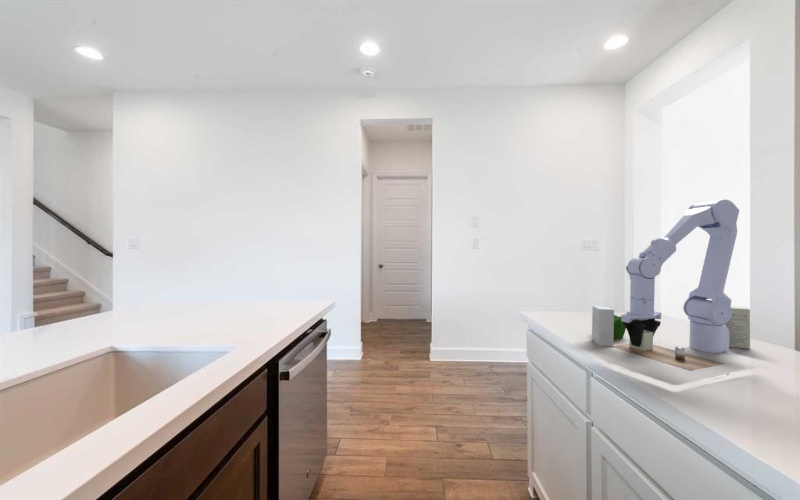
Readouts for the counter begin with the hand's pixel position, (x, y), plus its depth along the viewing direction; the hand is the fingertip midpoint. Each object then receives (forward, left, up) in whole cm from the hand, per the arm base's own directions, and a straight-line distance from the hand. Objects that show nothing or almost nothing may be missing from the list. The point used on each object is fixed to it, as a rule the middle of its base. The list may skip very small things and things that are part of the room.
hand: (641, 345), depth 98 cm
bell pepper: (-3, -12, -2) cm, 13 cm away
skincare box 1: (+6, -8, -2) cm, 10 cm away
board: (0, +6, -2) cm, 6 cm away
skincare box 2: (-34, +6, -2) cm, 35 cm away
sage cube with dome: (0, 0, -1) cm, 1 cm away
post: (0, +10, -1) cm, 10 cm away
